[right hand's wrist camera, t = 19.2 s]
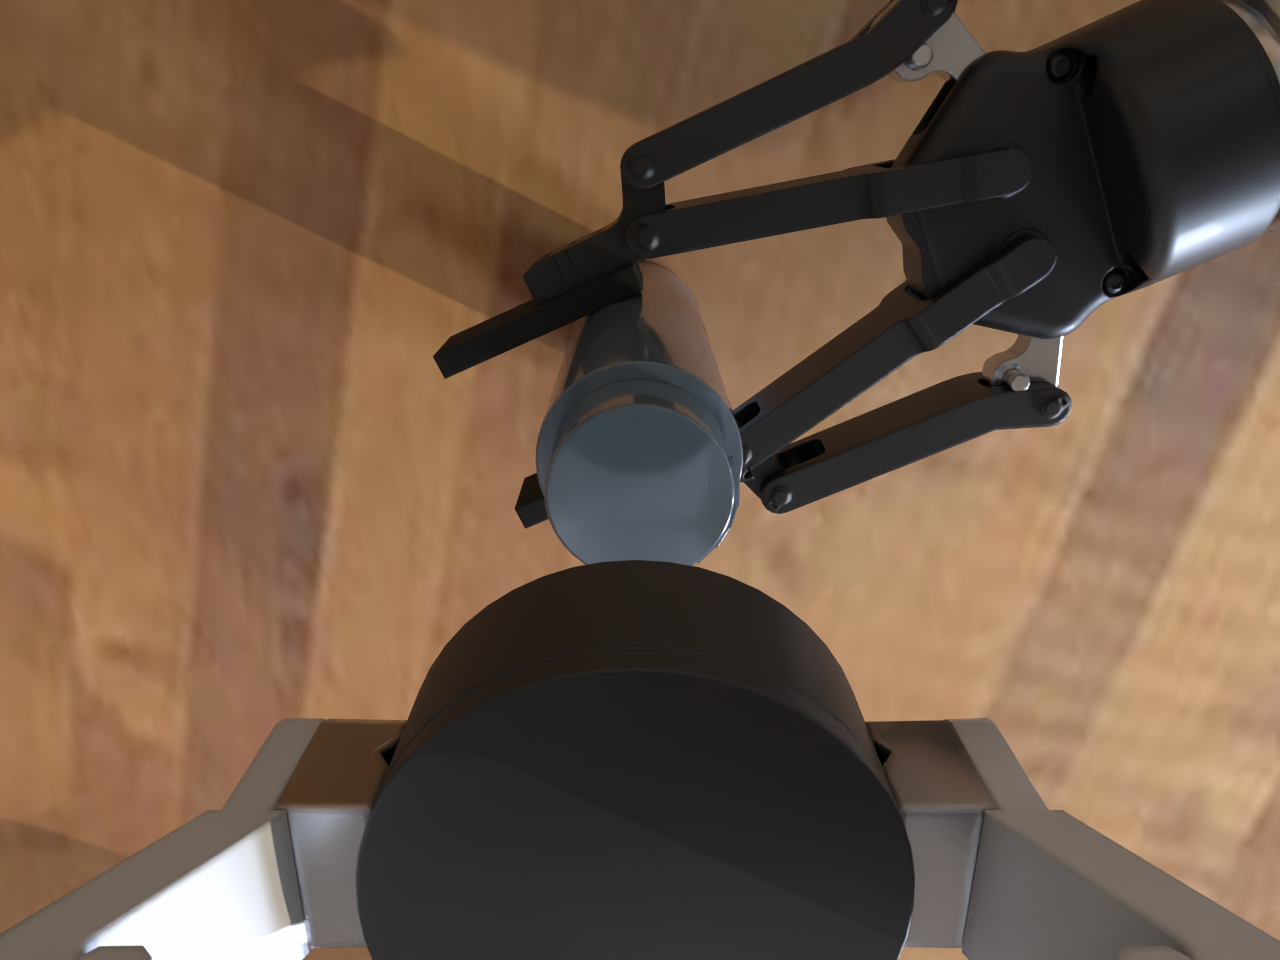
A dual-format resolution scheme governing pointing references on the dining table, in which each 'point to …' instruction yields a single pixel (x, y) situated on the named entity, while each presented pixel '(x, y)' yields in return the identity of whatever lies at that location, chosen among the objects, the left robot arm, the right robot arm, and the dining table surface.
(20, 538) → the dining table surface
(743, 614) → the lid
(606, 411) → the dark grey cylinder
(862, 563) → the dining table surface
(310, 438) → the dining table surface
